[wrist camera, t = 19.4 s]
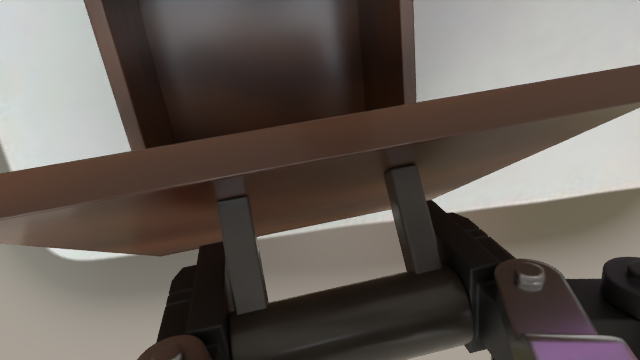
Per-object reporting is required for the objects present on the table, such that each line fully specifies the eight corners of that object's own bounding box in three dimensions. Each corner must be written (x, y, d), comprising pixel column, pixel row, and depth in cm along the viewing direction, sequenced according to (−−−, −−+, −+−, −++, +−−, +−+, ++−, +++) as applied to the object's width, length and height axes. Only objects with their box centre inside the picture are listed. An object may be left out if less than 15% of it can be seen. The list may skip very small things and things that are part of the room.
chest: (116, -35, 23) (64, -58, 16) (360, -63, 25) (410, -94, 18) (178, 186, 28) (160, 244, 21) (375, 150, 30) (419, 192, 23)
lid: (-95, 189, 7) (-85, 530, 6) (648, 62, 9) (742, 308, 8) (158, 240, 21) (172, 344, 20) (421, 188, 22) (445, 280, 22)
